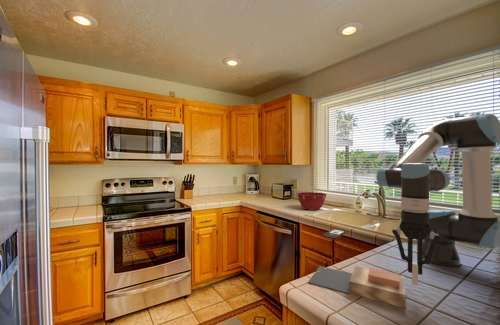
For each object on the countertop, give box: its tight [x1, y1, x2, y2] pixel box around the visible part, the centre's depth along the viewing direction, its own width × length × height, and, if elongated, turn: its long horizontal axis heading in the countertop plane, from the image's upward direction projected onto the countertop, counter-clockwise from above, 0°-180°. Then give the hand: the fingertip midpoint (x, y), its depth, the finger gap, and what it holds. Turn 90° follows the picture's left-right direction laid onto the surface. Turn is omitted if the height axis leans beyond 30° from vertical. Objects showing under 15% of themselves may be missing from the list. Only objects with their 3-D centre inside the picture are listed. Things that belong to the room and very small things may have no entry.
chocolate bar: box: [320, 228, 347, 240], centre depth 147 cm, size 9×1×18 cm
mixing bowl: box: [296, 191, 327, 211], centre depth 232 cm, size 28×28×16 cm
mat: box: [307, 265, 353, 295], centre depth 89 cm, size 14×16×1 cm
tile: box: [368, 267, 400, 288], centre depth 80 cm, size 9×6×2 cm, turn 59°
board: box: [349, 265, 407, 309], centre depth 81 cm, size 16×14×4 cm
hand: (414, 283), depth 76 cm, fingers closed
